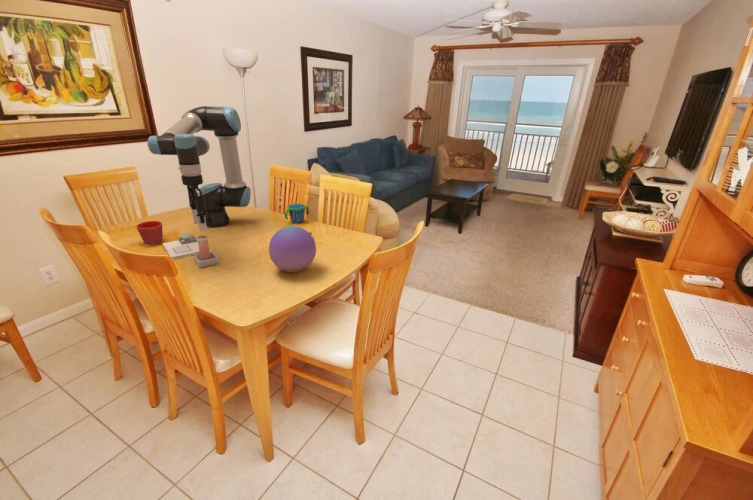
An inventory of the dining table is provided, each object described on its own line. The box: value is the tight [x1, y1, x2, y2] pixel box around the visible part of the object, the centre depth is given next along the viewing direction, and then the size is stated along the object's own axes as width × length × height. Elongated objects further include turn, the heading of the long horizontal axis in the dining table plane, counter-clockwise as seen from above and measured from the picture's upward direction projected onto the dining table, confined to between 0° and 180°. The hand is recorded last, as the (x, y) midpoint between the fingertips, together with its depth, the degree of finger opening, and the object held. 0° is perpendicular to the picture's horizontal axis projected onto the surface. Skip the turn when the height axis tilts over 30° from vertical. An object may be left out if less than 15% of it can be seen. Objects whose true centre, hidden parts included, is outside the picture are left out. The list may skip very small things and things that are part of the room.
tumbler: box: [196, 234, 211, 261], centre depth 151 cm, size 4×4×12 cm
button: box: [180, 232, 193, 240], centre depth 172 cm, size 5×5×2 cm
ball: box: [268, 225, 317, 273], centre depth 148 cm, size 20×20×20 cm
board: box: [162, 234, 200, 260], centre depth 166 cm, size 14×20×3 cm
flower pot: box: [135, 220, 164, 246], centre depth 171 cm, size 11×11×10 cm
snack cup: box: [284, 203, 310, 224], centre depth 208 cm, size 16×10×10 cm
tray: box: [193, 251, 220, 269], centre depth 154 cm, size 8×8×3 cm
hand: (200, 226), depth 147 cm, fingers open, 9 cm apart
